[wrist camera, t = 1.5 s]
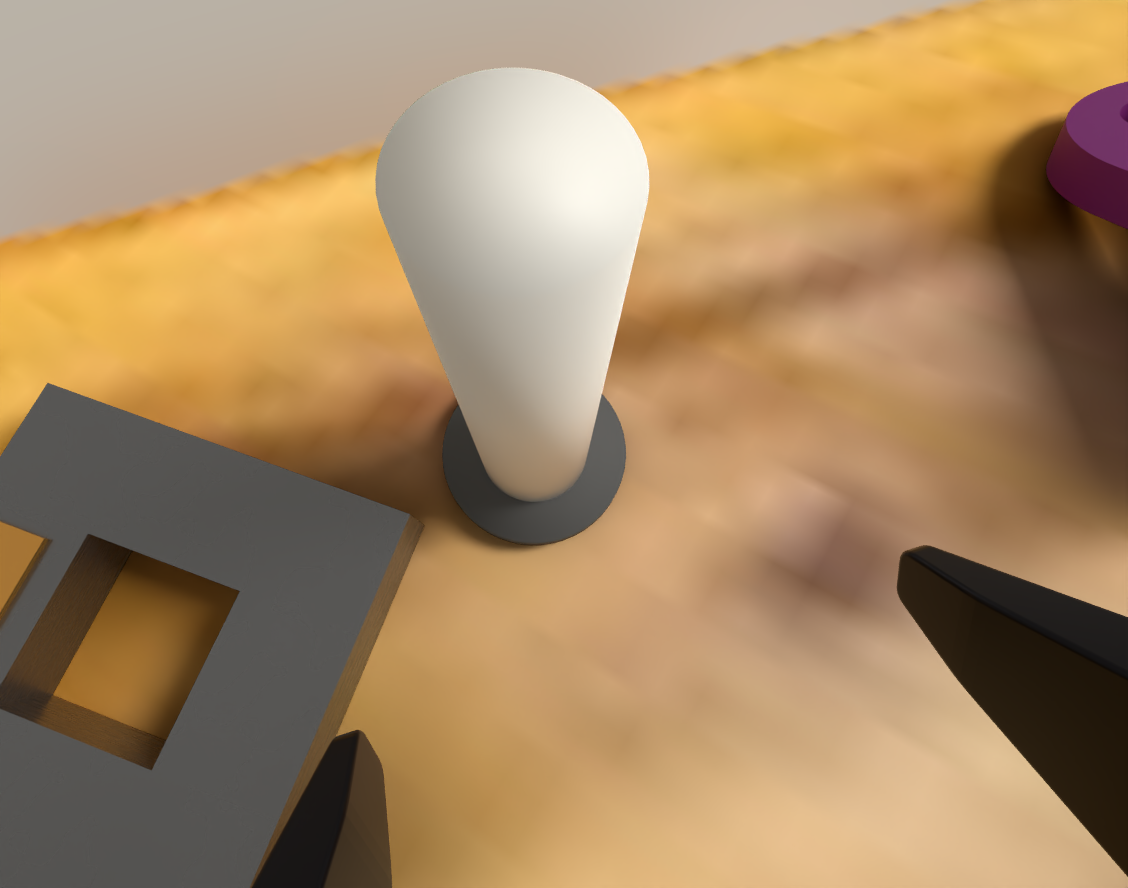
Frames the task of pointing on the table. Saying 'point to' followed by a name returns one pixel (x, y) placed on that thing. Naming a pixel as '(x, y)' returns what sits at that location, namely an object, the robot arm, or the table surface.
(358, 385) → the table surface
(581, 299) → the peg
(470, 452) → the pad
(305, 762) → the rack plate
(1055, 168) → the mounting bracket
